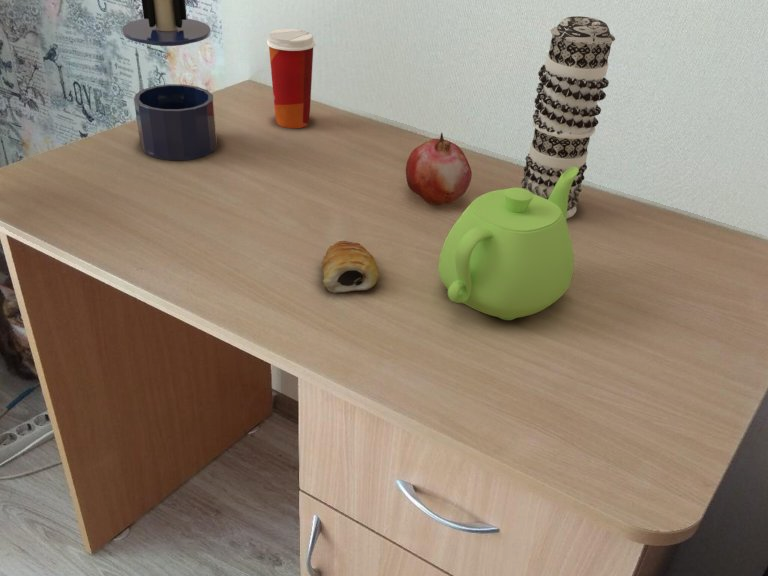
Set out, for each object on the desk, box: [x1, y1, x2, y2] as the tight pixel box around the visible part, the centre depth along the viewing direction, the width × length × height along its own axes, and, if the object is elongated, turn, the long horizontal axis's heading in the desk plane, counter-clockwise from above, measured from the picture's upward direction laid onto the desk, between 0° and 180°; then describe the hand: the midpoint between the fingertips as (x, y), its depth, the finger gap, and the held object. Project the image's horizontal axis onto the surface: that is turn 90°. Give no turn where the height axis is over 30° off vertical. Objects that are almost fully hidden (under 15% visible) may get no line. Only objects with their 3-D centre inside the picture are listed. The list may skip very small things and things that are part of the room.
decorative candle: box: [520, 15, 616, 219], centre depth 105 cm, size 9×9×25 cm
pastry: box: [321, 240, 380, 294], centre depth 93 cm, size 9×7×4 cm
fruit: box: [405, 132, 473, 206], centre depth 109 cm, size 9×10×10 cm
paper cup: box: [266, 28, 316, 129], centre depth 127 cm, size 8×8×14 cm
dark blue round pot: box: [133, 83, 218, 162], centre depth 119 cm, size 11×11×8 cm
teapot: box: [437, 167, 579, 321], centre depth 90 cm, size 22×15×13 cm
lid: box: [121, 0, 212, 47], centre depth 109 cm, size 12×12×8 cm
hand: (166, 23), depth 110 cm, fingers closed on lid, 3 cm apart
